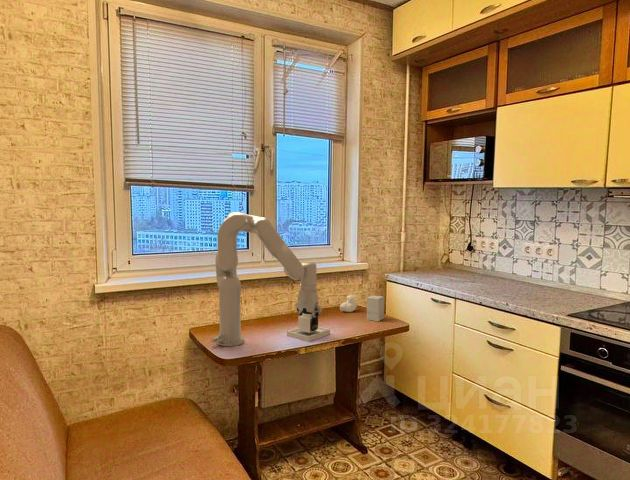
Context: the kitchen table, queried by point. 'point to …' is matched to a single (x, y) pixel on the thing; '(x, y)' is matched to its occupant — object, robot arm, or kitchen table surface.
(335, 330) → the kitchen table surface
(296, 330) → the tray
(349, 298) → the bust
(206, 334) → the kitchen table surface
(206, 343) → the kitchen table surface
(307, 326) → the medicine bottle
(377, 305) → the supplement box
